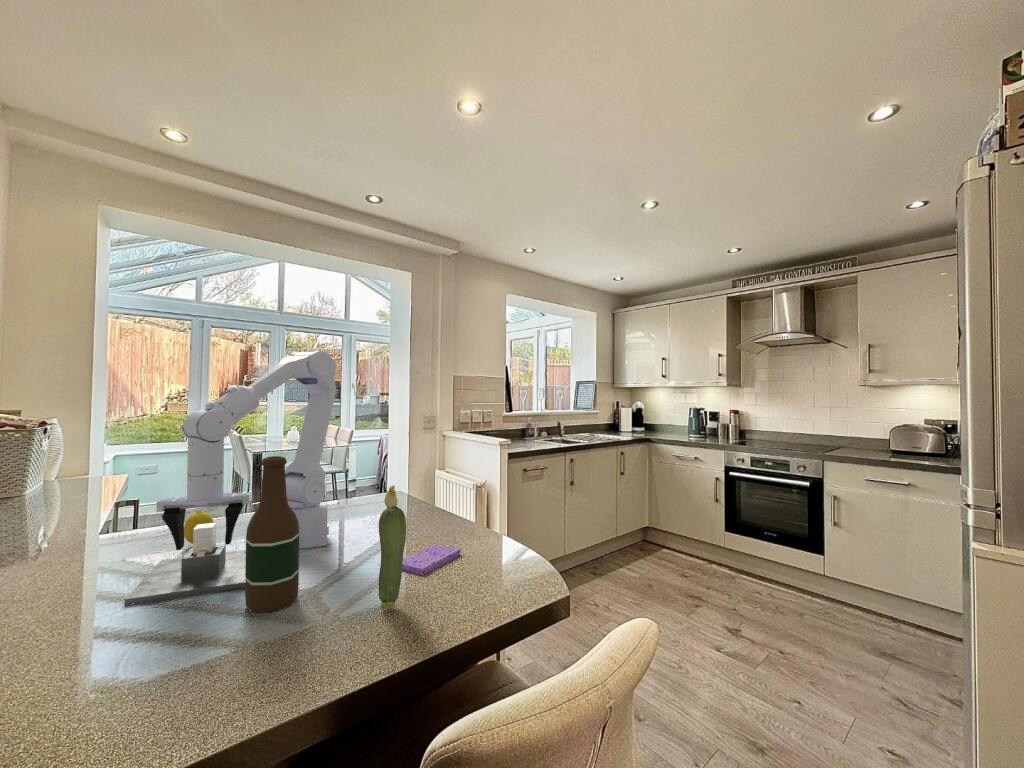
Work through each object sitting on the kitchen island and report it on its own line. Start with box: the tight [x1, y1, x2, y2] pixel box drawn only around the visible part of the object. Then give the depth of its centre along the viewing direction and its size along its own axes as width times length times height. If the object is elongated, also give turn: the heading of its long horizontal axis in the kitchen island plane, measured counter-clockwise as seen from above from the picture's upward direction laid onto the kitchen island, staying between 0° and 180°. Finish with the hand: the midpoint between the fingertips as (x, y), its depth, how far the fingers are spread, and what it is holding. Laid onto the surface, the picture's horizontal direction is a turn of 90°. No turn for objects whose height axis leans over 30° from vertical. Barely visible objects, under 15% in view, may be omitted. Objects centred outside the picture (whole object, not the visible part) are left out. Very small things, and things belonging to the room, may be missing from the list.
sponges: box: [402, 543, 461, 576], centre depth 92 cm, size 7×13×2 cm, turn 151°
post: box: [192, 522, 217, 556], centre depth 84 cm, size 3×3×8 cm
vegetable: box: [378, 485, 407, 611], centre depth 72 cm, size 4×4×20 cm
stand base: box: [124, 544, 246, 606], centre depth 84 cm, size 18×18×5 cm
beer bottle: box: [244, 455, 300, 614], centre depth 73 cm, size 8×8×24 cm
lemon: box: [184, 509, 215, 545], centre depth 99 cm, size 6×6×8 cm
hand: (204, 545), depth 84 cm, fingers open, 7 cm apart
